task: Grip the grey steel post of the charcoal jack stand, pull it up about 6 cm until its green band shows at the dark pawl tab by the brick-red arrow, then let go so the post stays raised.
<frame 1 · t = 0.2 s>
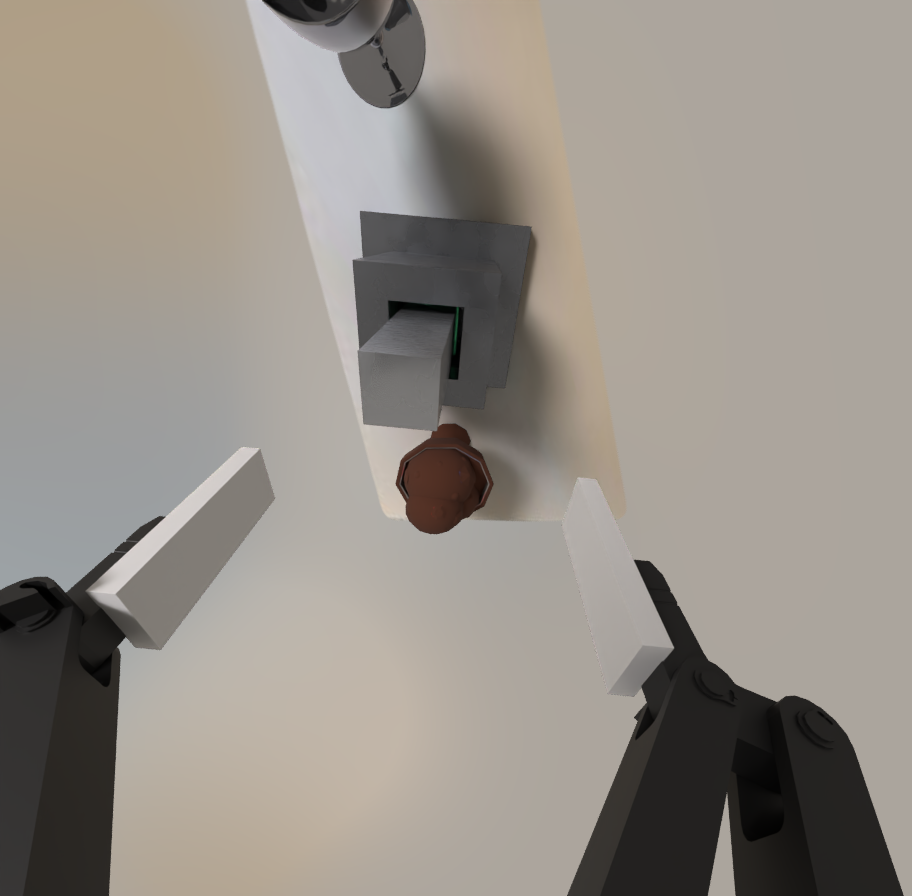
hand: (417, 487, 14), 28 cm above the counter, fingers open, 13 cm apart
ice cream bowl: (450, 440, 46), on the counter
post: (427, 338, 26), point 13 cm above the counter, slide at 0.0 cm
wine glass: (381, 46, 27), on the counter
stand housing: (442, 307, 37), on the counter
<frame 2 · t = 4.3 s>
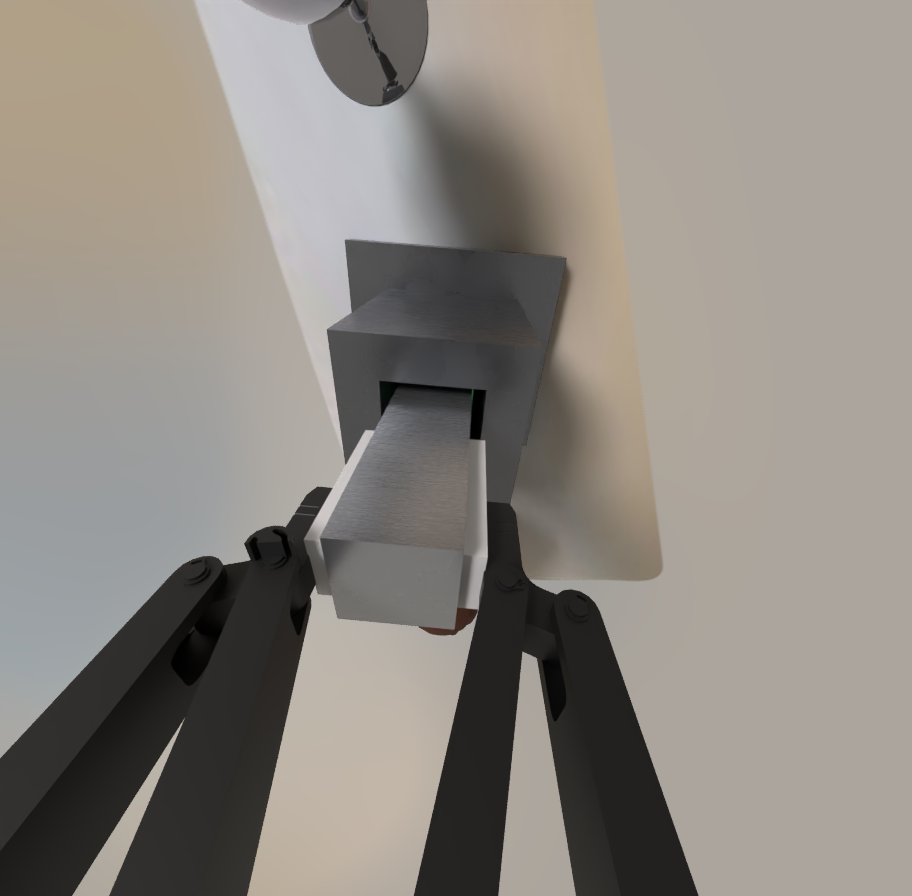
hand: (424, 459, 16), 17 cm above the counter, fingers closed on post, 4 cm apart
ice cream bowl: (459, 496, 40), on the counter
post: (433, 422, 19), point 13 cm above the counter, slide at 0.0 cm, touching gripper
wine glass: (367, 22, 20), on the counter
stand housing: (450, 352, 30), on the counter
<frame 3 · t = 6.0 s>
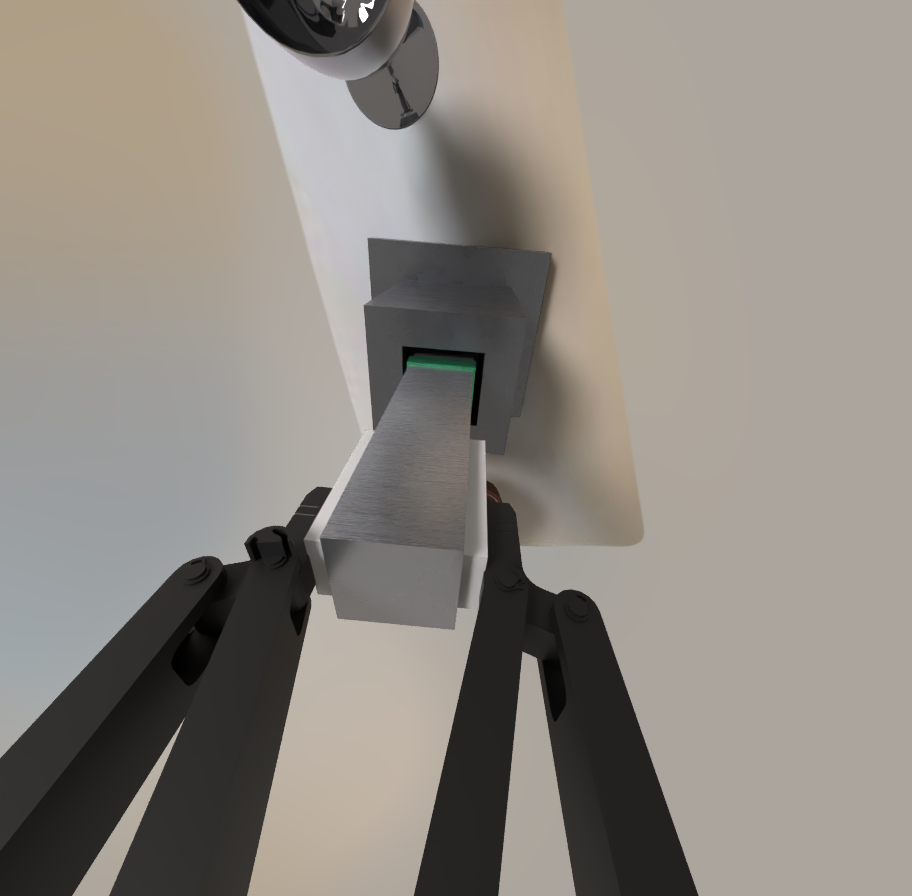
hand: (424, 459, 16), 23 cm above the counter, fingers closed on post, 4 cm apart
post: (433, 422, 19), point 19 cm above the counter, slide at 5.9 cm, touching gripper
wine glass: (390, 64, 25), on the counter
stand housing: (454, 334, 35), on the counter
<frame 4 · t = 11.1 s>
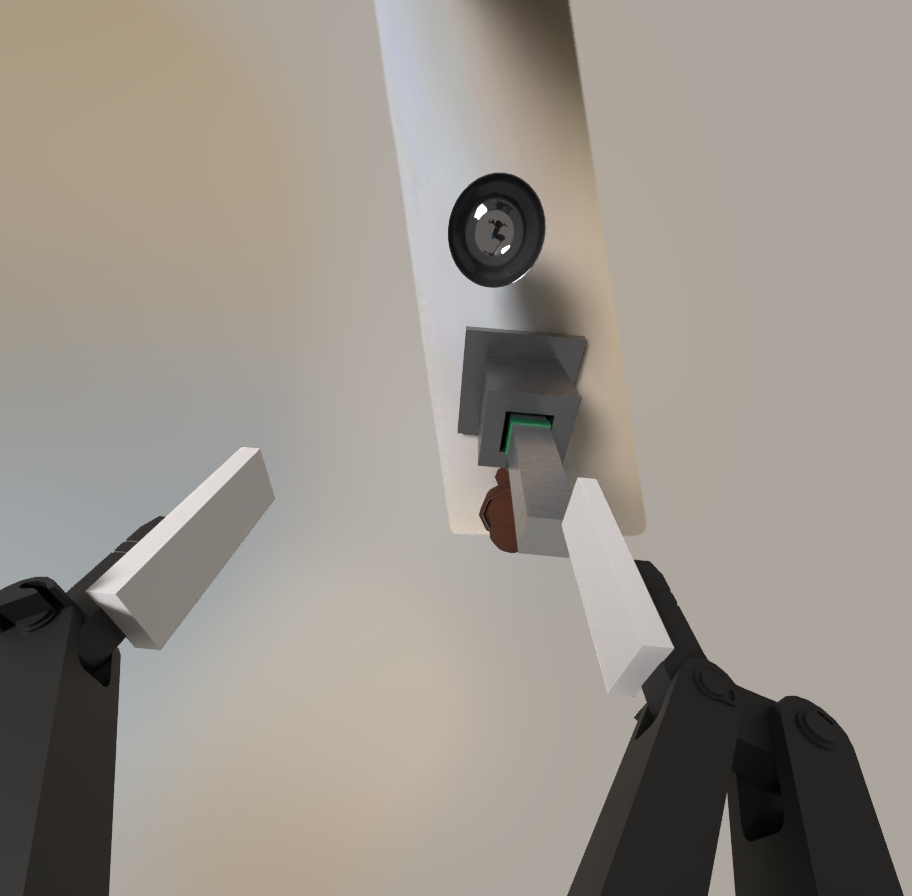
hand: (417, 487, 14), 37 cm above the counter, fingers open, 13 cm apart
ice cream bowl: (510, 476, 60), on the counter
post: (531, 458, 35), point 19 cm above the counter, slide at 6.0 cm
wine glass: (491, 232, 40), on the counter
stand housing: (515, 386, 50), on the counter
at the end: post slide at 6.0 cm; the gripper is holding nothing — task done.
